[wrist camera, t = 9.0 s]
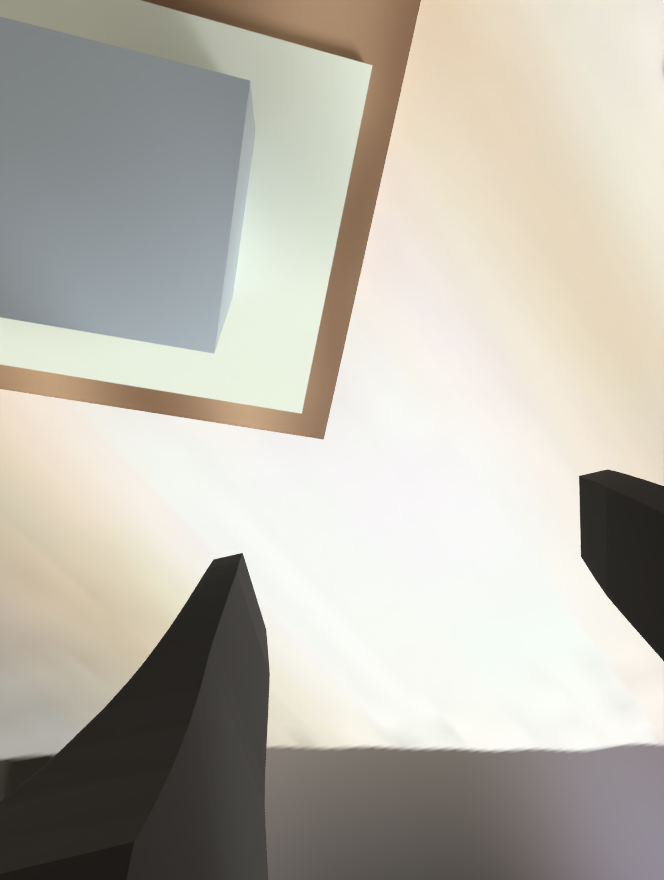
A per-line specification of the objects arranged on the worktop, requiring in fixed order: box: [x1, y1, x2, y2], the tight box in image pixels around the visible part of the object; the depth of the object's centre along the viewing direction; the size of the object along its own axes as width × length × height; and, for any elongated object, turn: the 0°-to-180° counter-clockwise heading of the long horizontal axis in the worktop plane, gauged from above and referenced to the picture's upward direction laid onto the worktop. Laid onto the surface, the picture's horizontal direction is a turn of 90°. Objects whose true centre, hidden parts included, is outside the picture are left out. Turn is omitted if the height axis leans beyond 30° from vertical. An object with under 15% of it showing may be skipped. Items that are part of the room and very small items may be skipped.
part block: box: [0, 17, 256, 353], centre depth 13 cm, size 4×4×7 cm
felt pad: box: [0, 0, 373, 414], centre depth 16 cm, size 10×10×1 cm
